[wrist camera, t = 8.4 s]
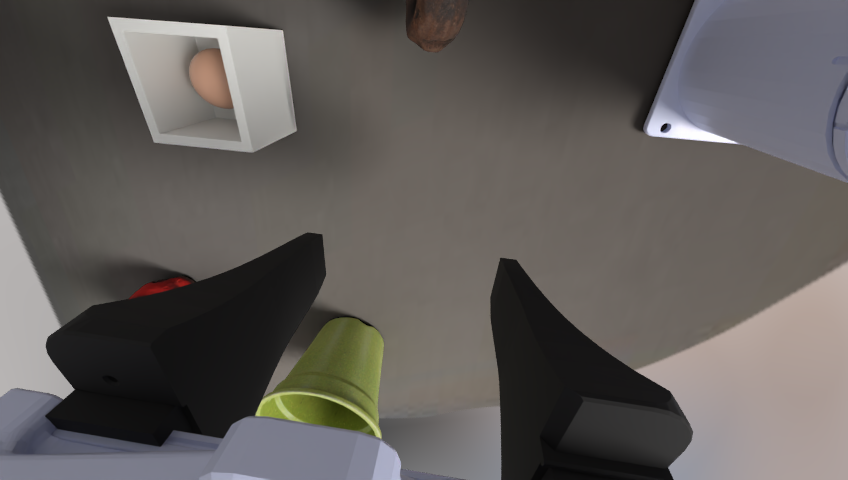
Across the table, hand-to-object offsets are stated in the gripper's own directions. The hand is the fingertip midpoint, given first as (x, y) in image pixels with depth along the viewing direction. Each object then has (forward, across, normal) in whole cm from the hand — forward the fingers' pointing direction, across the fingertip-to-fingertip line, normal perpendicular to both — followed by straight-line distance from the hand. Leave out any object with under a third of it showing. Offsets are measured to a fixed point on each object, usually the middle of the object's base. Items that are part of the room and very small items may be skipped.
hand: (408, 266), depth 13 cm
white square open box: (+10, +12, -5) cm, 16 cm away
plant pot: (+10, +6, +17) cm, 21 cm away
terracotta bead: (+8, +12, -5) cm, 15 cm away
